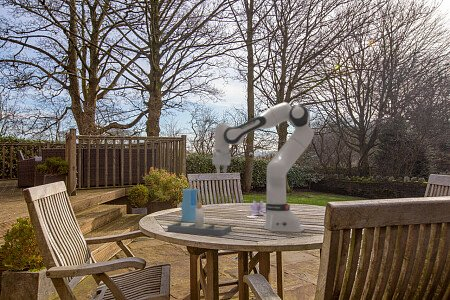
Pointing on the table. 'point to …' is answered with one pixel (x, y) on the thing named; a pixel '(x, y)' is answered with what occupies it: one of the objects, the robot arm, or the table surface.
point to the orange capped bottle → (199, 216)
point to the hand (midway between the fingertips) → (221, 172)
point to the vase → (189, 205)
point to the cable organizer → (199, 229)
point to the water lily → (257, 208)
